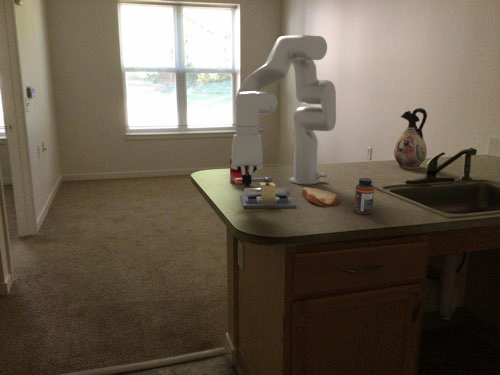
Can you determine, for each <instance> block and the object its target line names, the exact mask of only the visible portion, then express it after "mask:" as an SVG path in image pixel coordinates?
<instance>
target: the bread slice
mask: <svg viewBox="0 0 500 375" xmlns="http://www.w3.org/2000/svg"><path fill="white" fill-rule="evenodd" d="M301 195H302V196H303V197H304V198H305V200H307V201H308V202H309V203H311V204H314V205H315V206H319V207H324V208H331V207H336V205H337V204H339V203H340V199H339V196H338V194H337V193H334V192H332V191H329V190H325V189H319V188H313V187H308V186H307V187H302V191H301Z"/></svg>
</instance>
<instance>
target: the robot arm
mask: <svg viewBox="0 0 500 375" xmlns="http://www.w3.org/2000/svg"><path fill="white" fill-rule="evenodd" d="M327 51H328V43H327V41H326V39H325V37H323V36H321V35H311V34H310V35H309V34H298V35H297V34H295V35H293V34H292V35H291V34H290V35H283V36H279V37H278V38H277V39H276V40H275V42H274V44H273V46H272V49H271V50H270V52H269V54H268V56H267V58H266V60H265V63H264V64H263V65H262V66H260V67H259V68H257V69H255V71H253V72H252V73H250V74H249V75H248V76H247V77H246V78H245V79H244V80H243V82H242V83H241V85H240V87H239V90H238V91H237V92H236V96H235V134H233V136H232V141H231V143H232V144H231V155H230V156H231V160H232V163H231V168H232V169H236V170H238V171H239V172H240V173H241V174H242V184H241V185H243V186H244V187H245V188H246V187H247V188H250V184H252V182H251V178H252V175H253V174H254V173H255V172H256V171H257V170H261V169H263V168H264V164H263V161H264V159H263V158H264V157H263V154H264V153H263V143H262V142H263V141H262V136H261V134H260V133H262V132H263V133H264V127H261V126H260V115H270V114H273V113H274V112H275V111H276V110H277V108H278V98H277V96H276V95H275V94H274V93H273V92H271V91H266V90H265V91H262V90H261V89H263V88H266V87H268V86H271V85H274V84H276V83H279V82H281V81H283V80H284V79H285V78H286V76H287V74H288V72H289V70H290V68H291V65H292V66H293V69H294V80H295V82H294V83H295V84H294V85H295V96H296V100H297V101H298V103H300V104H305V105H307V106H299V107H297V109H295V110H294V112H293V126H294V155H293V156H294V158H293V176H292V177H289V181H290V182H291V183H293V184H297V185H317V184H319V183H320V178H322V179H324V178H328V173H327V172H319V171H318V170H317V162H318V161H317V160H318V137H317V135H316V134H315V133H316V132H314V131H317V132H318V131H319V132H330V131H332V130H334V128H335V126H336V123H337V94H336V86H335V84H334V82H332V81H331V80H327V79H318V77H317V65H316V64H315V62H314V61H321V60H322V59H324V57H325V56H326V55H327ZM259 90H261V91H259ZM308 105H320V106H308ZM245 166H249V170H248V172H247V174H246V172H245Z"/></svg>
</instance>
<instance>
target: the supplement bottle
mask: <svg viewBox="0 0 500 375" xmlns="http://www.w3.org/2000/svg"><path fill="white" fill-rule="evenodd" d="M374 197H375V187H374V186H373V179H371V178H370V177H369V178H368V177H360V178H359V179H358V184H357V185H356V186H355V193H354V203H353V204H354V207H353V211H354V212H355V214H358V215H371V214H372V213H373V208H374Z"/></svg>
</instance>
